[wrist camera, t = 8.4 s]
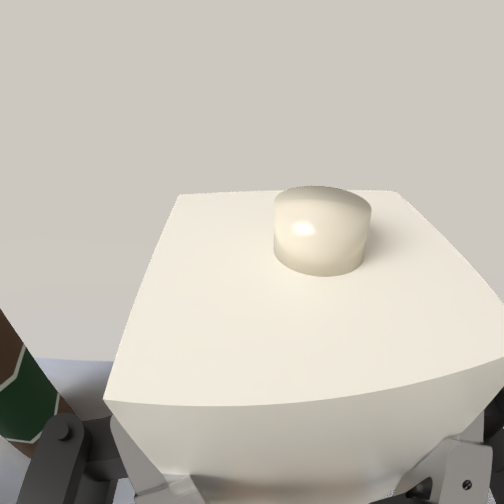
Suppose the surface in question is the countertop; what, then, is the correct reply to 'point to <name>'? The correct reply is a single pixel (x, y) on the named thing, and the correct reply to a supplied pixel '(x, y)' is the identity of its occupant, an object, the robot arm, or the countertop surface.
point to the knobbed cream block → (303, 345)
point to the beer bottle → (24, 393)
